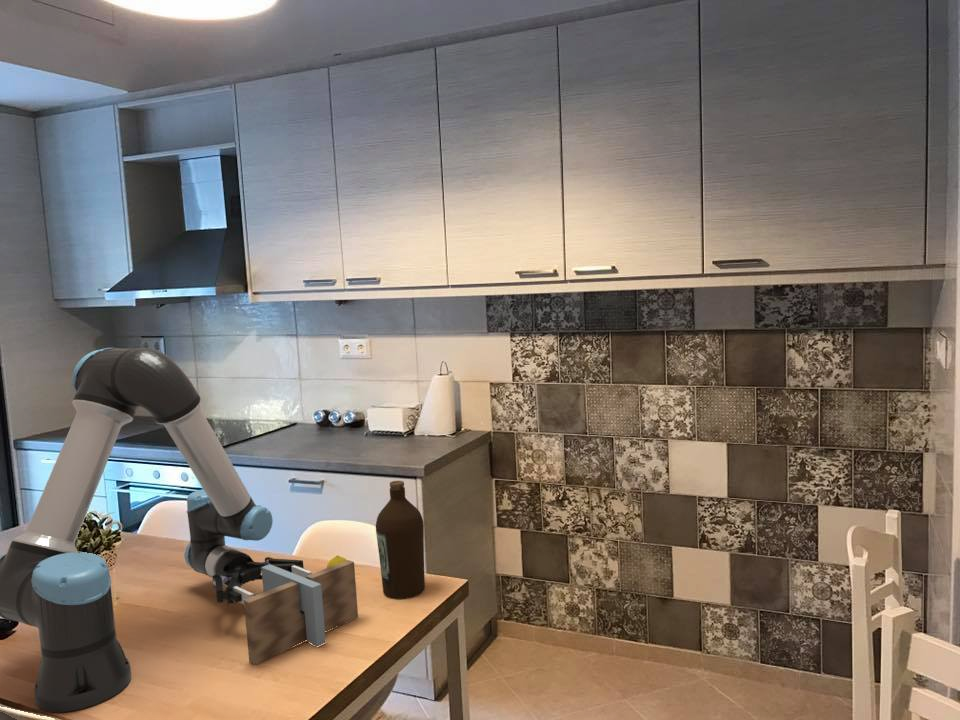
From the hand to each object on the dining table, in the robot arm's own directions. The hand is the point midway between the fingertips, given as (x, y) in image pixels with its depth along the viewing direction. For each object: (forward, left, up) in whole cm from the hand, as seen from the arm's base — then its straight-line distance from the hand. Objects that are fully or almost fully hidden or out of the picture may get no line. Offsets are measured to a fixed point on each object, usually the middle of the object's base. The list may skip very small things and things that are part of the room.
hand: (282, 589), depth 151 cm
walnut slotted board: (-3, -7, -8) cm, 11 cm away
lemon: (+20, -2, -8) cm, 21 cm away
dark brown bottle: (+22, -17, -8) cm, 29 cm away
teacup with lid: (+32, +78, -8) cm, 85 cm away
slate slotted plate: (-2, -3, -8) cm, 9 cm away
